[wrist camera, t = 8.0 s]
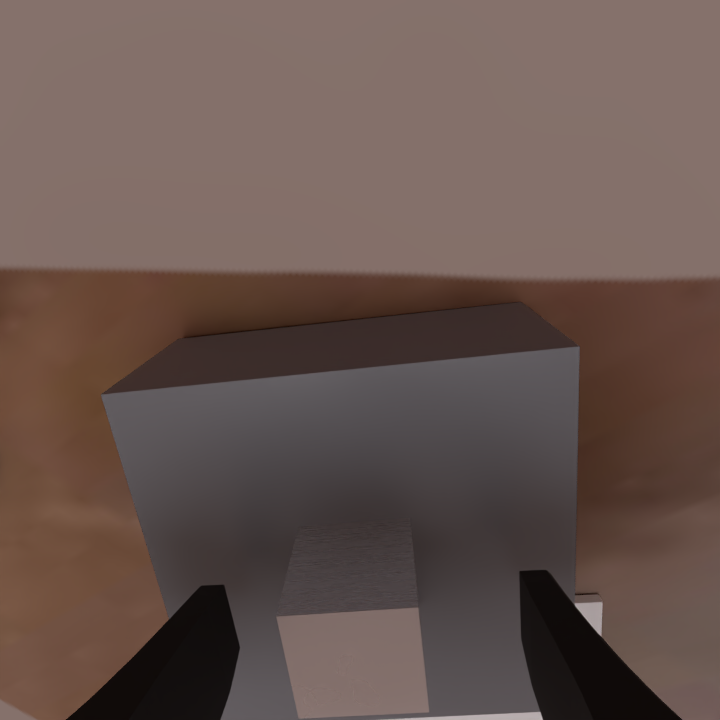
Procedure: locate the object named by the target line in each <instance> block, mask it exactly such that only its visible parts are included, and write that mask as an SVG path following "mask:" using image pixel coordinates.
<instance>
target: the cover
mask: <svg viewBox="0 0 720 720" xmlns="http://www.w3.org/2000/svg"><path fill="white" fill-rule="evenodd" d="M579 350H580V346H578V345H577V344H576V343H574V342H573V341H572V340H571V339H569V338H568V337H567V336H565V335H564V334H563V333H561V332H560V331H559V330H557V329H556V328H555V327H554V326H552V325H551V324H550V323H548V322H547V321H546V320H544V319H543V318H542V317H540V316H539V315H538V314H537V313H535V312H534V311H533V310H531V309H530V308H529V307H527V306H526V305H525V304H523V303H522V302H516V303H506V304H497V305H488V306H479V307H469V308H460V309H451V310H442V311H432V312H423V313H414V314H405V315H395V316H386V317H377V318H368V319H358V320H349V321H340V322H331V323H321V324H312V325H303V326H294V327H284V328H275V329H266V330H257V331H247V332H238V333H229V334H220V335H210V336H201V337H192V338H183V339H177V340H176V341H175V342H173V343H172V344H171V345H169V346H168V347H166V348H165V349H164V350H162V351H161V352H159V353H158V354H157V355H155V356H154V357H152V358H151V359H150V360H148V361H147V362H145V363H144V364H143V365H141V366H140V367H139V368H137V369H136V370H134V371H133V372H132V373H130V374H129V375H127V376H126V377H125V378H123V379H122V380H120V381H119V382H118V383H116V384H115V385H113V386H112V387H111V388H109V389H108V390H107V391H105V392H104V393H102V394H101V397H102V400H103V403H104V407H105V410H106V413H107V417H108V420H109V423H110V426H111V430H112V433H113V436H114V440H115V443H116V446H117V449H118V453H119V456H120V459H121V463H122V466H123V469H124V472H125V476H126V479H127V482H128V486H129V489H130V492H131V495H132V499H133V502H134V505H135V509H136V512H137V515H138V518H139V522H140V525H141V528H142V532H143V535H144V538H145V541H146V545H147V548H148V551H149V555H150V558H151V561H152V564H153V568H154V571H155V574H156V577H157V581H158V584H159V587H160V591H161V594H162V597H163V600H164V604H165V607H166V610H167V614H168V617H169V619H170V618H171V617H172V616H173V615H174V614H175V613H176V611H177V610H178V609H179V608H180V607H181V606H182V605H183V604H184V603H185V602H186V601H187V600H188V599H189V597H190V596H191V595H192V594H193V593H194V592H195V591H196V590H197V589H198V588H199V587H200V586H202V585H224V586H225V590H226V594H227V598H228V602H229V605H230V609H231V613H232V617H233V621H234V625H235V629H236V633H237V637H238V641H239V645H240V651H239V655H238V660H237V665H236V669H235V674H234V678H233V682H232V686H231V690H230V694H229V697H228V700H227V703H226V706H225V708H224V711H223V714H222V717H221V720H383V719H404V718H424V717H445V716H466V715H487V714H508V713H528V712H540V709H539V706H538V703H537V700H536V697H535V694H534V691H533V688H532V684H531V680H530V676H529V672H528V667H527V663H526V659H525V654H524V650H523V645H522V641H521V619H520V581H519V571H527V570H547V571H548V572H549V573H551V575H552V576H553V577H554V579H555V580H556V582H557V583H558V584H559V586H560V587H561V588H562V590H563V591H564V592H565V594H566V595H567V596H568V597H569V599H570V600H571V601H572V603H573V604H574V605H575V568H576V513H577V459H578V404H579Z"/></svg>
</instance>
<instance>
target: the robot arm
mask: <svg viewBox="0 0 720 720" xmlns="http://www.w3.org/2000/svg"><path fill="white" fill-rule="evenodd" d="M519 581H520V619H521V641H522V645H523V650H524V654H525V659H526V663H527V667H528V672H529V676H530V680H531V684H532V688H533V691H534V694H535V697H536V700H537V703H538V706H539V709H540V712H541V715H542V718H543V720H682V719H681V718H680V717H679V716H678V715H677V714H675V713H674V712H673V711H672V710H671V709H670V708H669V707H668V706H667V705H666V704H665V703H664V702H663V701H662V700H661V699H660V698H659V697H658V696H657V695H656V694H655V693H654V692H652V691H651V690H650V689H649V688H648V687H647V686H646V685H645V684H644V682H643V681H642V680H641V679H640V678H639V677H638V676H637V675H636V674H635V673H634V672H633V671H632V670H631V669H630V668H629V667H628V666H627V665H626V664H625V663H624V662H623V661H622V659H621V658H620V657H619V656H618V655H617V654H616V653H615V652H614V651H613V650H612V649H611V647H610V646H609V645H608V644H607V643H606V642H605V641H604V639H603V638H602V637H601V636H600V635H599V634H598V633H597V631H596V630H595V629H594V628H593V627H592V626H591V625H590V623H589V622H588V621H587V620H586V619H585V617H584V616H583V615H582V614H581V612H580V611H579V610H578V609H577V607H576V606H575V605H574V604H573V603H572V601H571V600H570V599H569V597H568V596H567V595H566V594H565V592H564V591H563V590H562V588H561V587H560V586H559V584H558V583H557V582H556V580H555V579H554V577H553V576H552V575H551V573H549V572H548V571H547V570H527V571H519ZM239 651H240V645H239V641H238V637H237V633H236V629H235V625H234V621H233V617H232V613H231V609H230V605H229V602H228V598H227V594H226V590H225V586H224V585H202V586H200V587H199V588H198V589H197V590H196V591H195V592H194V593H193V594H192V595H191V596H190V597H189V599H188V600H187V601H186V602H185V603H184V604H183V605H182V606H181V607H180V608H179V609H178V610H177V611H176V613H175V614H174V615H173V616H172V617H171V618H170V619H169V620H168V621H167V622H166V623H165V624H164V625H163V627H162V628H161V629H160V630H159V631H158V632H157V633H156V634H155V635H154V636H153V637H152V638H151V639H150V640H149V641H148V642H147V643H146V644H145V645H144V646H143V647H142V649H141V650H140V651H139V652H138V653H137V654H136V655H135V656H134V657H133V658H132V659H131V660H130V661H129V662H128V663H127V664H126V665H125V666H123V667H122V668H121V669H120V670H119V671H118V672H117V673H116V674H115V675H114V676H113V677H112V678H111V679H110V680H109V681H108V682H107V683H106V684H105V685H104V686H103V687H102V688H101V689H100V690H99V691H98V692H97V693H96V694H95V695H93V696H92V697H91V698H90V699H89V700H88V701H87V702H86V703H85V704H84V705H82V706H81V707H80V708H79V709H78V710H77V711H76V712H75V713H73V714H72V715H71V716H70V717H69V718H67V719H66V720H221V717H222V714H223V711H224V708H225V706H226V703H227V700H228V697H229V694H230V690H231V686H232V682H233V678H234V674H235V669H236V665H237V660H238V655H239Z"/></svg>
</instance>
